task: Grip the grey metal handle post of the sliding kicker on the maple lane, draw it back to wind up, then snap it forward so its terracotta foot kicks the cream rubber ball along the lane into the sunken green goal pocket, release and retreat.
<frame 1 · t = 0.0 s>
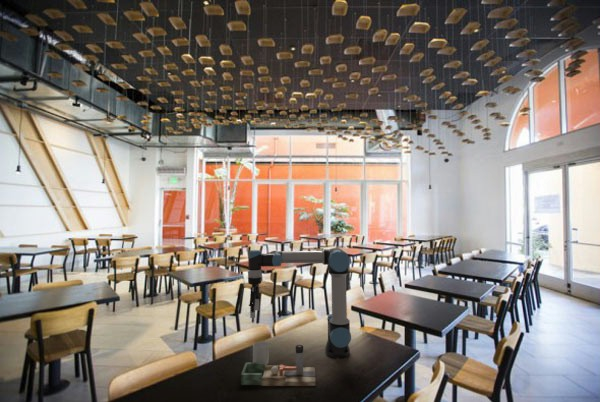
hand: (254, 313, 169), 28 cm above the table, fingers open, 13 cm apart
mug: (260, 363, 168), on the table
lane: (286, 378, 152), on the table
ball: (274, 370, 152), point 4 cm above the table, touching lane
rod: (291, 359, 152), point 9 cm above the table, slide at 4.0 cm
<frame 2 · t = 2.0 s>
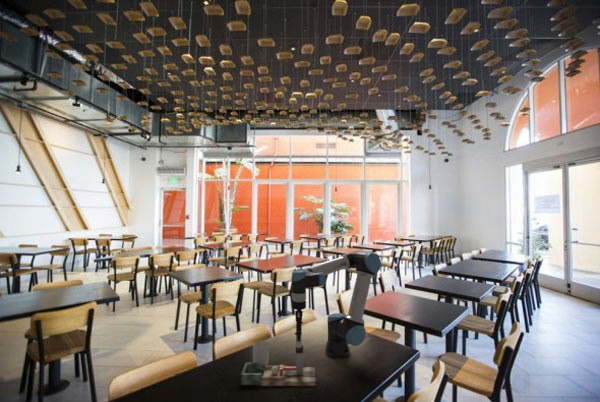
hand: (298, 341, 153), 18 cm above the table, fingers open, 13 cm apart
nothing on the table moved.
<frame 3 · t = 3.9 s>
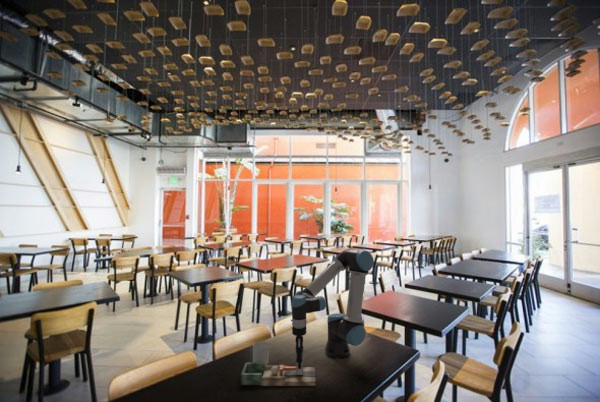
hand: (299, 371, 152), 3 cm above the table, fingers closed on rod, 4 cm apart
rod: (291, 359, 152), point 9 cm above the table, slide at 4.0 cm, touching gripper
everything else where it was.
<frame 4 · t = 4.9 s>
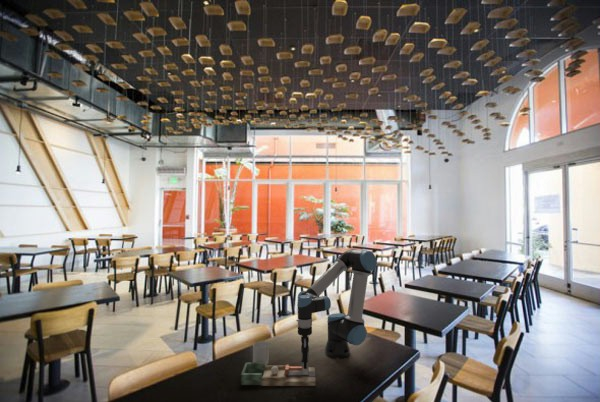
hand: (305, 371, 152), 3 cm above the table, fingers closed on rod, 4 cm apart
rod: (297, 359, 152), point 9 cm above the table, slide at 1.1 cm, touching gripper
everything else where it was.
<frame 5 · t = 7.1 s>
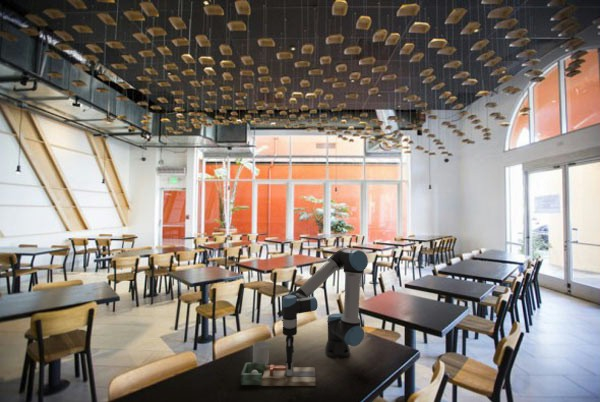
hand: (290, 370, 152), 4 cm above the table, fingers open, 9 cm apart
ball: (254, 374, 152), point 2 cm above the table, tilted 84°
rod: (281, 359, 152), point 9 cm above the table, slide at 9.1 cm
everything else where it was.
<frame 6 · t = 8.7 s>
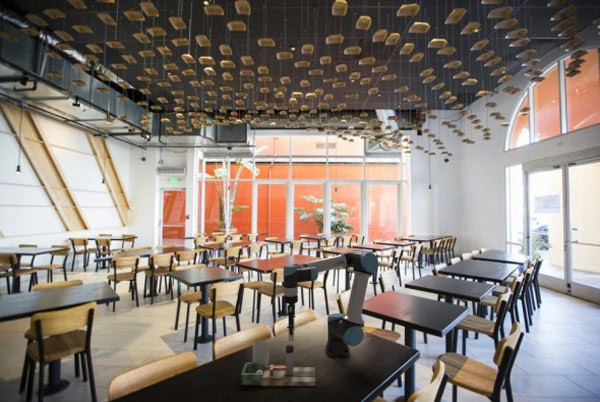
hand: (291, 335, 154), 21 cm above the table, fingers open, 13 cm apart
ball: (259, 374, 152), point 2 cm above the table, tilted 158°
everything else where it was.
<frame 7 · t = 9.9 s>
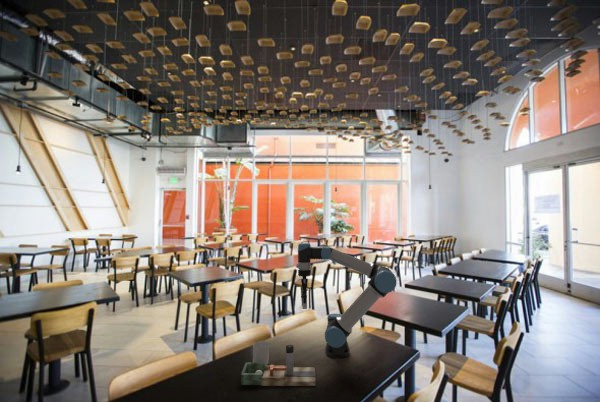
hand: (304, 305, 172), 32 cm above the table, fingers open, 13 cm apart
ball: (258, 374, 152), point 2 cm above the table, tilted 148°
everything else where it was.
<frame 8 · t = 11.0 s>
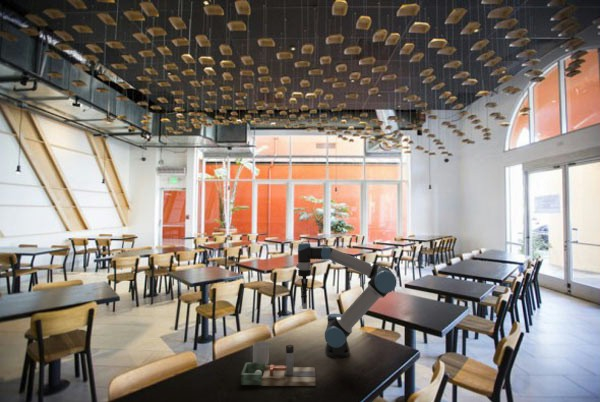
hand: (304, 305, 172), 32 cm above the table, fingers open, 13 cm apart
ball: (258, 374, 152), point 2 cm above the table, tilted 140°
everything else where it was.
at the end: ball inside the target area (2.5 cm from its centre), point 2.0 cm above the table; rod slide at 9.1 cm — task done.
